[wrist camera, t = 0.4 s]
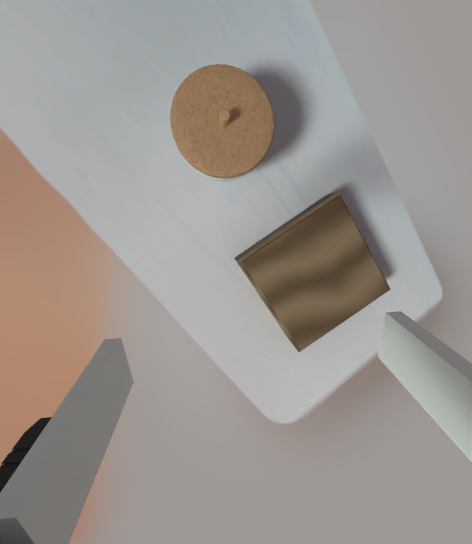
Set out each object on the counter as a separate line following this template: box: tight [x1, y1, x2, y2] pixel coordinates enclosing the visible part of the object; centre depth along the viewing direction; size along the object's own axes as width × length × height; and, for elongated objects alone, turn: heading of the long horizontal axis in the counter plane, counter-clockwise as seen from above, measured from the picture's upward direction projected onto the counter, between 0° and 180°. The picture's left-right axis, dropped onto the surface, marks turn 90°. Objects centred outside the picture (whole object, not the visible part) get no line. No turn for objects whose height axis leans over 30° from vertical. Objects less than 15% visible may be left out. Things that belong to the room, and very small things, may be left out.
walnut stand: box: [235, 192, 390, 352], centre depth 35 cm, size 16×16×4 cm
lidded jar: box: [170, 64, 274, 181], centre depth 28 cm, size 11×11×9 cm
